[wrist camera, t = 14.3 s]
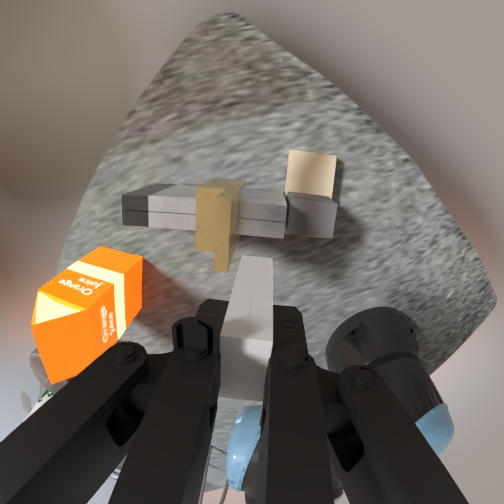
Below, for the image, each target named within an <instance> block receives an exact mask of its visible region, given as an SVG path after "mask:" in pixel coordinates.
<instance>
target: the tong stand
mask: <svg viewBox="0 0 504 504" xmlns="http://www.w3.org/2000/svg"><path fill="white" fill-rule="evenodd" d="M336 158H337V156H333V155H327V154H320V153H313V152H305V151H297V150H289V156H288V166H287V176H286V186H285V196H284V198H285V201H286V204H287V212H286V221H285V230H284V234H293V235H303V236H313V237H322V238H326V237H328V238H332V237H333V231H334V225H335V219H336V212H337V205H338V204H337V203H336V202H335V201H333V200H332V192H333V184H334V176H335V168H336Z"/></svg>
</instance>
